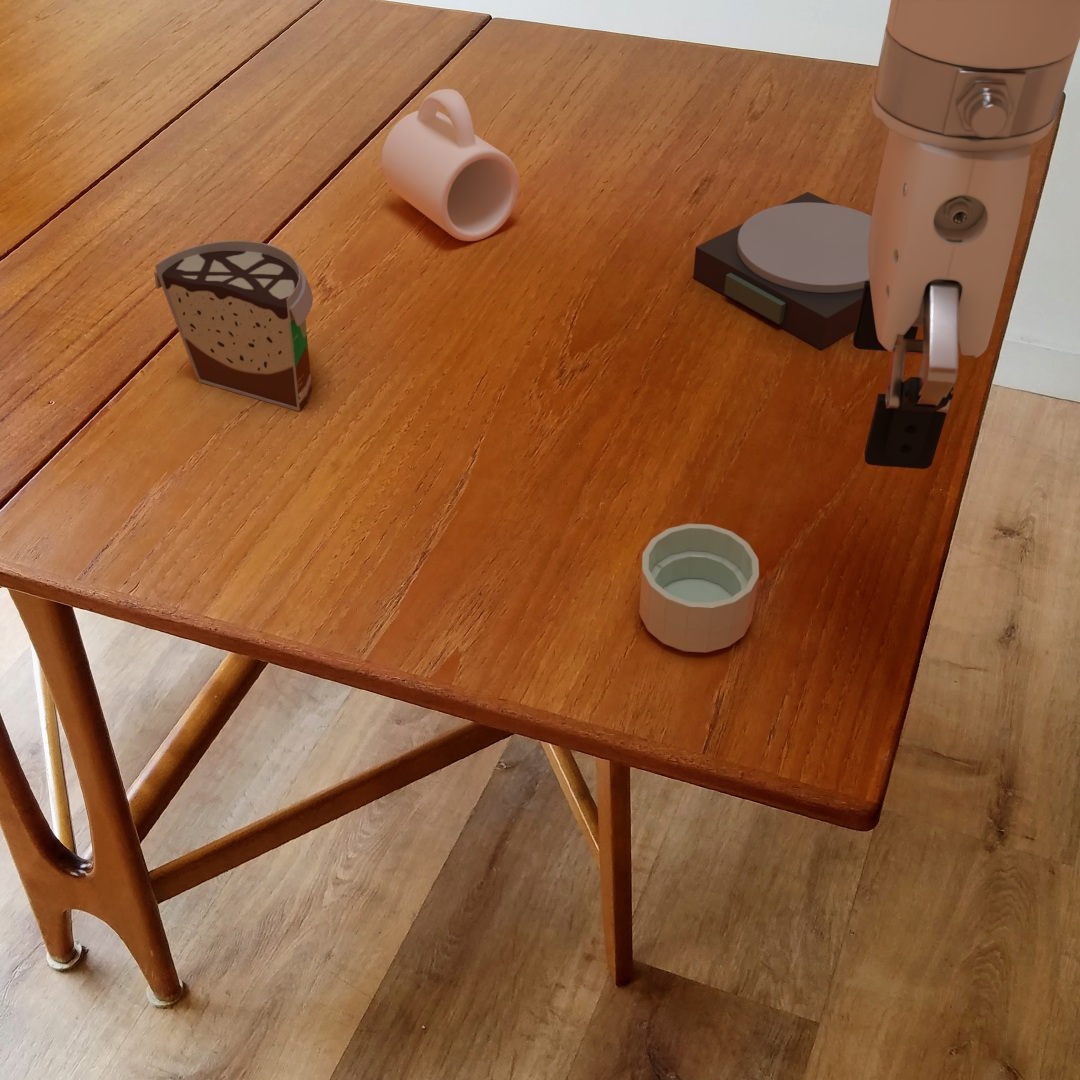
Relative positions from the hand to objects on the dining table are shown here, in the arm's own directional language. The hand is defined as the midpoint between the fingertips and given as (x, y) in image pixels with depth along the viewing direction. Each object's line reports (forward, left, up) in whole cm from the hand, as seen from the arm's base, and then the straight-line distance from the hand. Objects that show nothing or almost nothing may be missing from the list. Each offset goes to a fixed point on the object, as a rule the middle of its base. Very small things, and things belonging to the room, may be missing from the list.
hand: (888, 402), depth 60 cm
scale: (+25, -26, -16) cm, 40 cm away
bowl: (+5, +8, -16) cm, 18 cm away
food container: (+44, +14, -16) cm, 49 cm away
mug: (+54, -11, -16) cm, 57 cm away
